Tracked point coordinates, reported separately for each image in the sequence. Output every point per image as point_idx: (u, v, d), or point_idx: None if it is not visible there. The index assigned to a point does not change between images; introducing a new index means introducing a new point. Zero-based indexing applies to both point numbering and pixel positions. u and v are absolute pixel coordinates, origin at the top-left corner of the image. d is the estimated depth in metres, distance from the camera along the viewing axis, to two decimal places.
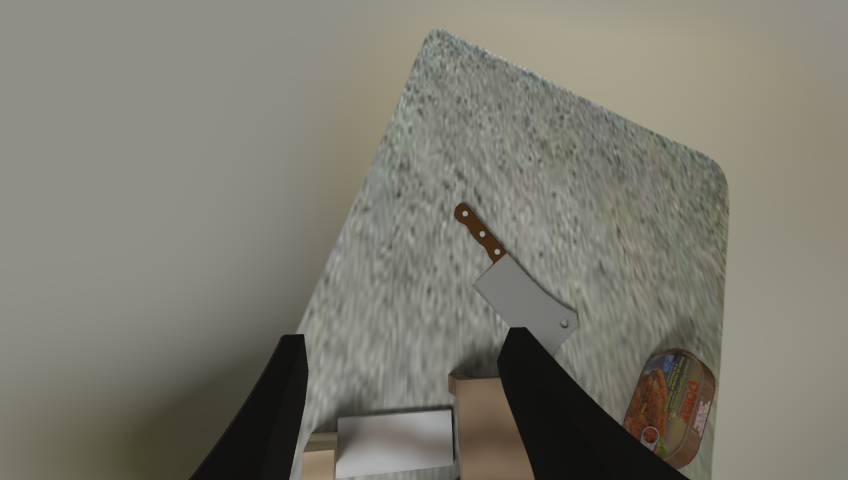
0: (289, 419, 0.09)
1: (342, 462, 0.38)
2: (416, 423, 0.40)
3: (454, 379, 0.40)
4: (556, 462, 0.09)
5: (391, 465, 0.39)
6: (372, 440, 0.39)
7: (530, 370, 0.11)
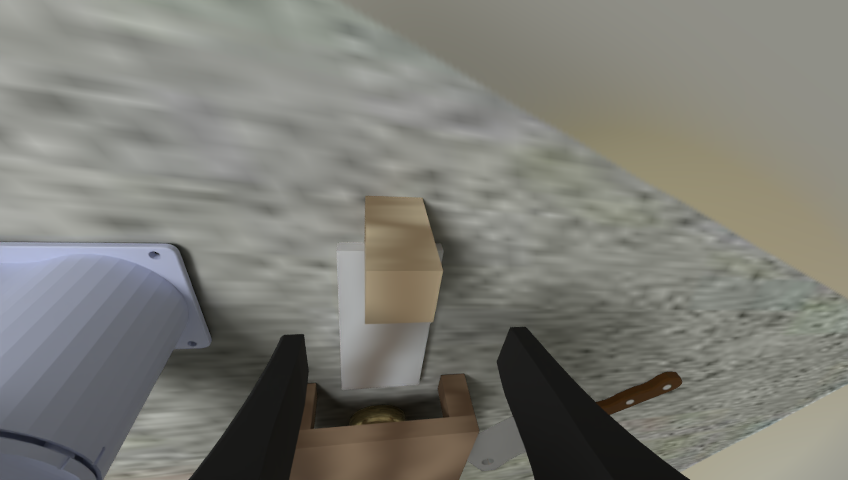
0: (289, 419, 0.09)
1: (364, 260, 0.19)
2: (408, 351, 0.24)
3: (471, 407, 0.26)
4: (556, 462, 0.09)
5: (350, 325, 0.22)
6: None
7: (530, 370, 0.11)
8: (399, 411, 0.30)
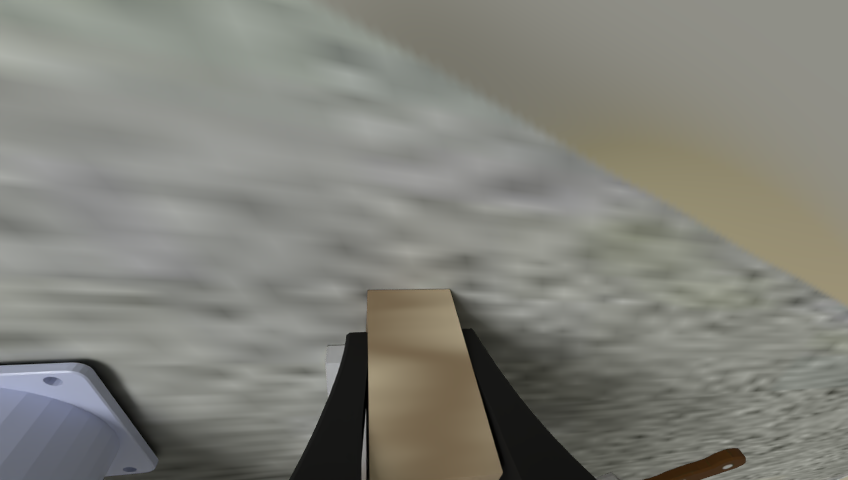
0: (364, 413, 0.10)
1: None
2: None
3: None
4: None
5: None
6: None
7: None
8: None
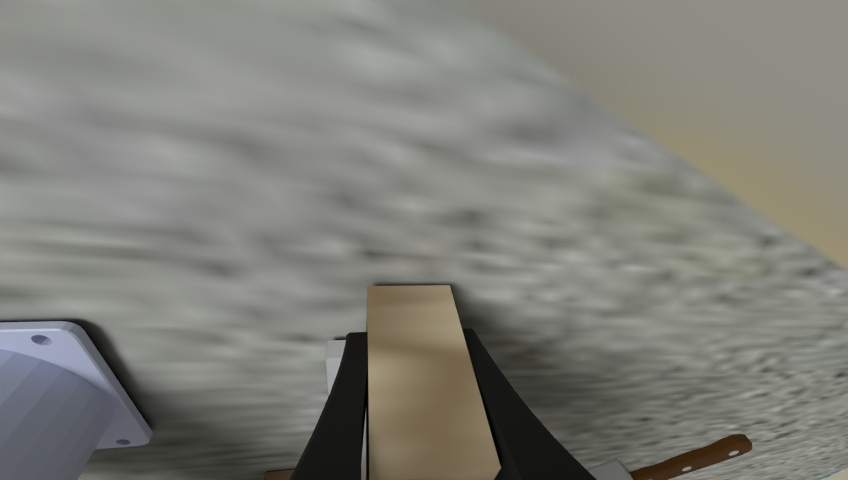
0: (363, 413, 0.10)
1: None
2: None
3: None
4: None
5: None
6: None
7: None
8: None
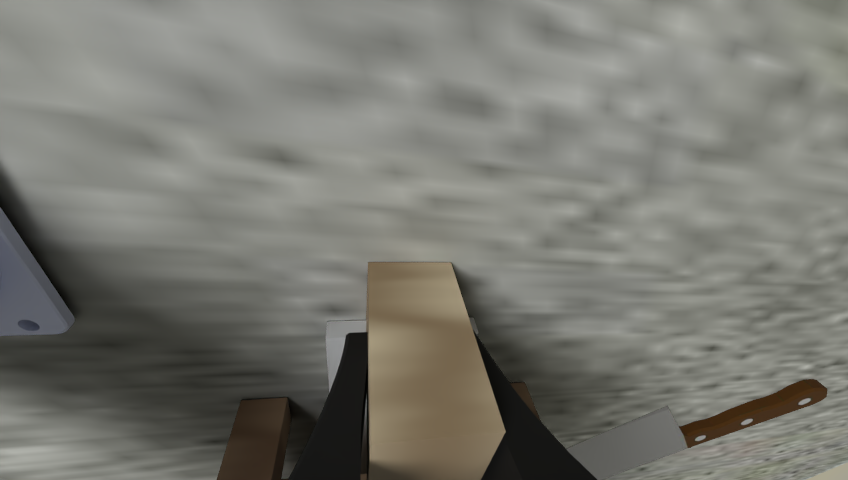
0: (363, 413, 0.10)
1: None
2: None
3: None
4: (488, 470, 0.09)
5: None
6: None
7: None
8: None
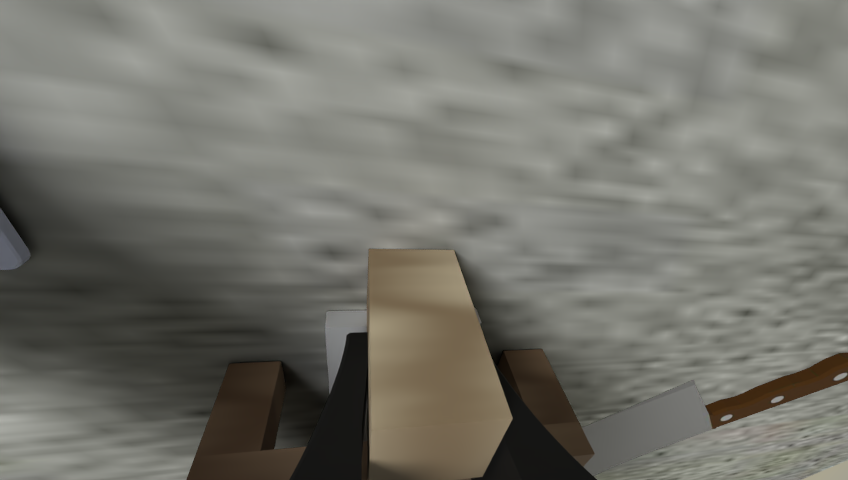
0: (364, 413, 0.10)
1: None
2: None
3: (568, 408, 0.14)
4: (487, 470, 0.09)
5: None
6: None
7: None
8: None
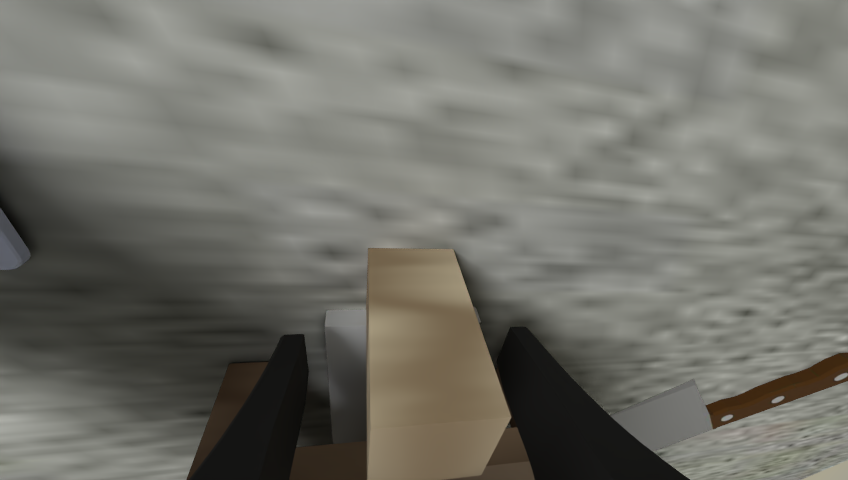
0: (289, 419, 0.09)
1: (366, 336, 0.13)
2: None
3: None
4: (556, 462, 0.09)
5: (345, 413, 0.16)
6: None
7: (530, 370, 0.11)
8: None
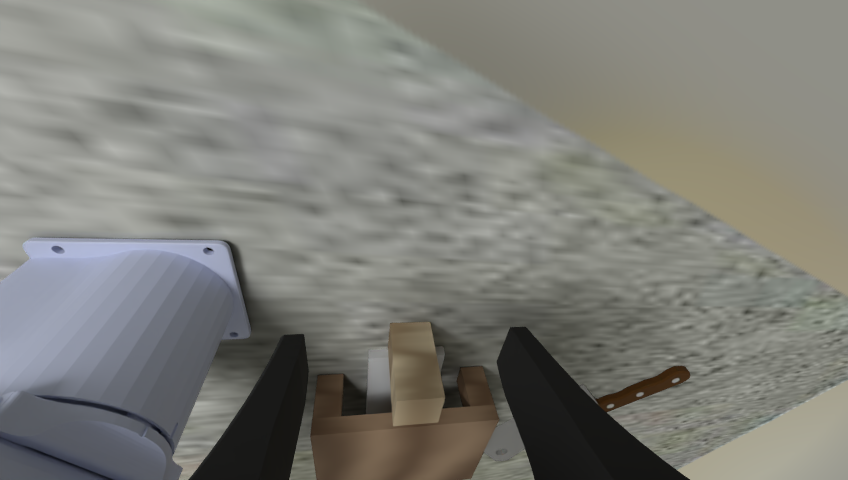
0: (289, 419, 0.09)
1: (388, 362, 0.26)
2: None
3: (490, 397, 0.28)
4: (556, 462, 0.09)
5: (374, 401, 0.29)
6: None
7: (530, 370, 0.11)
8: None
